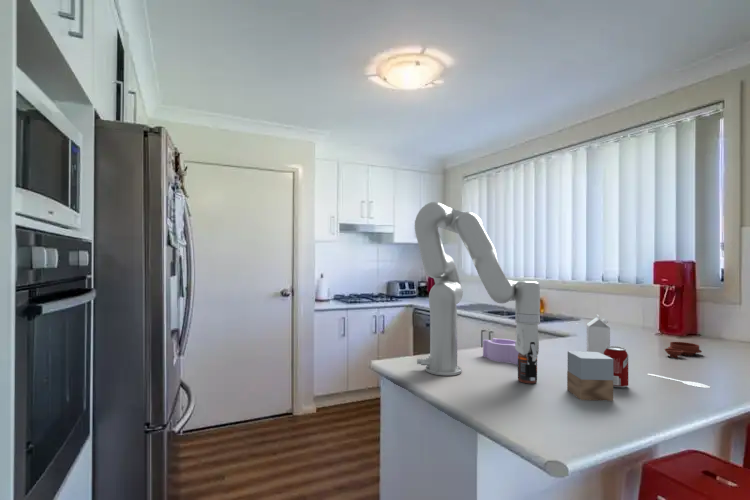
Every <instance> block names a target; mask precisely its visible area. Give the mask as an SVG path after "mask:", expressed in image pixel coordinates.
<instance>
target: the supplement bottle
mask: <svg viewBox="0 0 750 500" xmlns="http://www.w3.org/2000/svg"><path fill="white" fill-rule="evenodd" d="M528 354H531V353H528ZM531 355H532V354H531ZM529 359H530V357H529ZM536 360H537V361H536V363H537V364H536V377H535V378H534V377H526V376H525V364H527V362H526V354H525V355H522V354H521V353H519V354H518V365H517V381H518V382H520V383H522V384H531V385H532V384H536V383H537V382H538V358H537V359H536Z"/></svg>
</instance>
